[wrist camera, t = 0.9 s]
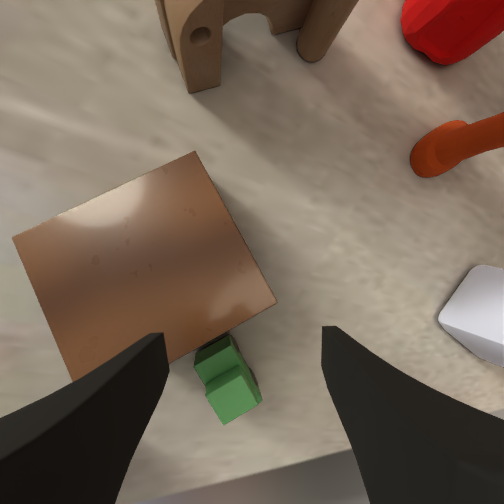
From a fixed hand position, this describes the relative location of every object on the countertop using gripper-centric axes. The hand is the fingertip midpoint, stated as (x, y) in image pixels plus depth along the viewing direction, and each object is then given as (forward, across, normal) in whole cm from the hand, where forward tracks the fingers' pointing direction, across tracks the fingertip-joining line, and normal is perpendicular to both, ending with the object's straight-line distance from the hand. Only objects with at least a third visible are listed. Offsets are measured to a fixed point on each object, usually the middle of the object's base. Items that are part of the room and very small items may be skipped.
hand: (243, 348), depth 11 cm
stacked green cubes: (+13, +3, +12) cm, 18 cm away
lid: (+8, +7, -2) cm, 11 cm away
